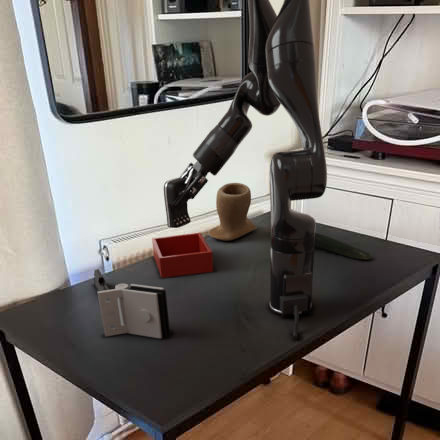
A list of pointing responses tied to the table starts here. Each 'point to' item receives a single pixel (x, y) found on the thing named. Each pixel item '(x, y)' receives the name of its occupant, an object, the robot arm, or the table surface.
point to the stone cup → (232, 212)
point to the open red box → (182, 255)
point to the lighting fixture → (100, 282)
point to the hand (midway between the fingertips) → (173, 204)
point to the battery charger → (170, 195)
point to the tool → (339, 247)
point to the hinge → (135, 310)
